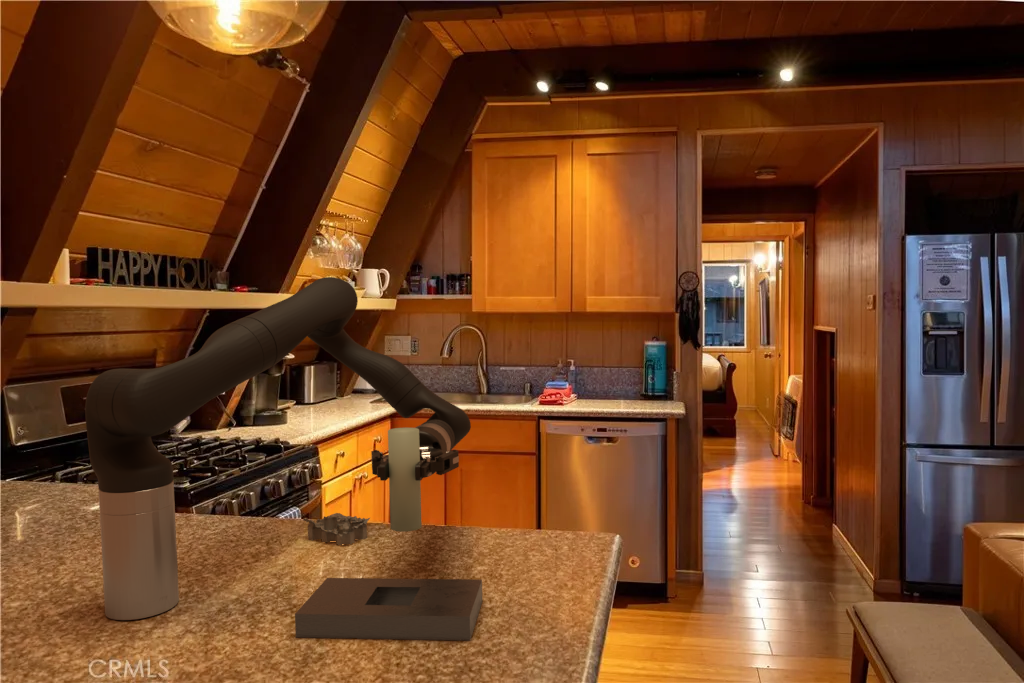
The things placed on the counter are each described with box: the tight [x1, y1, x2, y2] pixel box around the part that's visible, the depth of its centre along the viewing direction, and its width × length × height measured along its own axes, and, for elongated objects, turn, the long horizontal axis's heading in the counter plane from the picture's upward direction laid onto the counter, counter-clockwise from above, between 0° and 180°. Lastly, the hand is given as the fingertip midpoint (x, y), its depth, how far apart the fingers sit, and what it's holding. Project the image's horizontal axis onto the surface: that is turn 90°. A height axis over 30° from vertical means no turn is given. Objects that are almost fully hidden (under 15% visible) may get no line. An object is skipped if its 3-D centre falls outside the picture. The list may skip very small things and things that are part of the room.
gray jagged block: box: [302, 512, 371, 546], centre depth 131 cm, size 11×8×4 cm
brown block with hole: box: [294, 577, 484, 642], centre depth 96 cm, size 22×12×3 cm, turn 85°
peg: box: [387, 427, 423, 533], centre depth 104 cm, size 4×4×14 cm
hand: (400, 473), depth 101 cm, fingers closed on peg, 4 cm apart
